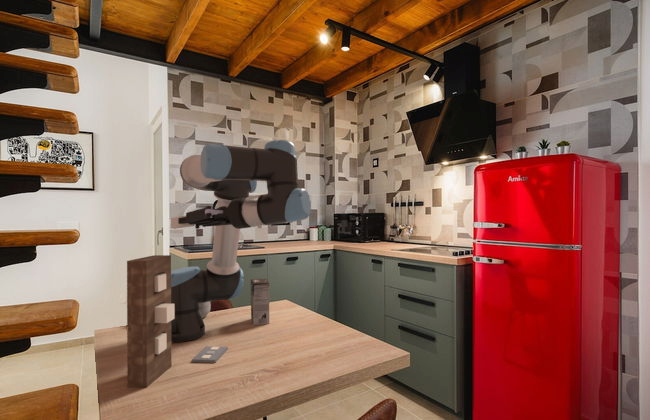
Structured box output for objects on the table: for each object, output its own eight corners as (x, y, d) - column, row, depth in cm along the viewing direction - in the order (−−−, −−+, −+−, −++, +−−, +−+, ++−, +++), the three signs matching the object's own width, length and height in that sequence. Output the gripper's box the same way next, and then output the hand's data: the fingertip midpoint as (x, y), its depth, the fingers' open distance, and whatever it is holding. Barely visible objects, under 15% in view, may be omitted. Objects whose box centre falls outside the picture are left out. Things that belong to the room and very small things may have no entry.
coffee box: (250, 319, 143) (250, 279, 143) (266, 317, 145) (266, 278, 145) (252, 325, 134) (252, 283, 135) (269, 323, 136) (269, 282, 137)
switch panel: (171, 366, 99) (170, 255, 99) (146, 387, 87) (146, 260, 87) (154, 365, 99) (153, 255, 100) (127, 386, 87) (126, 260, 88)
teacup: (201, 322, 140) (201, 301, 140) (177, 320, 142) (177, 300, 142) (219, 312, 154) (218, 293, 154) (196, 311, 156) (196, 293, 156)
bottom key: (166, 348, 95) (166, 333, 95) (158, 354, 91) (158, 338, 91) (152, 348, 95) (152, 333, 95) (143, 354, 91) (143, 338, 91)
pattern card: (227, 349, 111) (227, 346, 111) (215, 362, 101) (215, 359, 101) (206, 348, 111) (206, 345, 111) (191, 362, 101) (191, 358, 102)
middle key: (174, 318, 95) (174, 303, 95) (166, 323, 91) (166, 307, 91) (160, 318, 95) (160, 303, 95) (151, 323, 91) (151, 307, 91)
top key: (166, 288, 95) (166, 273, 95) (158, 291, 91) (158, 276, 91) (152, 288, 95) (151, 273, 95) (143, 291, 91) (143, 276, 91)
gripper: (233, 222, 80) (152, 233, 88) (262, 231, 92) (189, 240, 100) (234, 190, 82) (154, 204, 90) (262, 203, 94) (190, 214, 102)
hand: (172, 223), depth 95 cm, fingers closed
